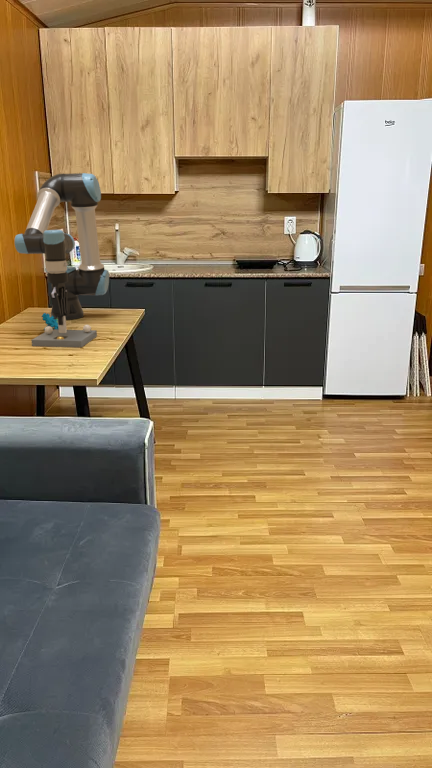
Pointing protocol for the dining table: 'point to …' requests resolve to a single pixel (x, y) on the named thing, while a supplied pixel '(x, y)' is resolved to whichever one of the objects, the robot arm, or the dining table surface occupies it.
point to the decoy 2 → (87, 328)
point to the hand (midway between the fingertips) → (62, 332)
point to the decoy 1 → (48, 330)
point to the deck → (70, 338)
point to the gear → (50, 321)
